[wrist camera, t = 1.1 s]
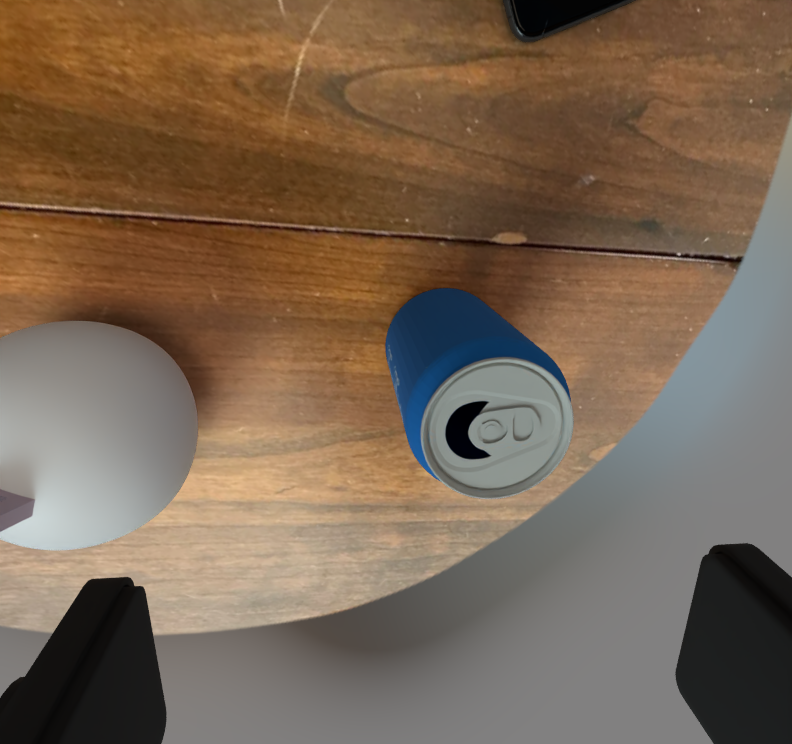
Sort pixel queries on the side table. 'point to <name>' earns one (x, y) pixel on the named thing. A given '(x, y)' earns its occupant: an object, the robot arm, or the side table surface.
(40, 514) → the ornament
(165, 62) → the side table surface
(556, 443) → the beverage can
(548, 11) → the smartphone
